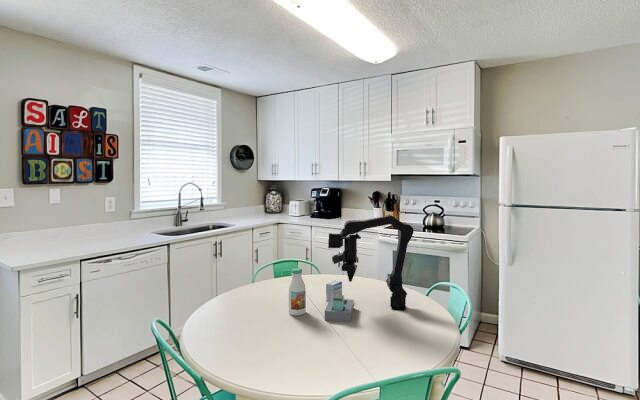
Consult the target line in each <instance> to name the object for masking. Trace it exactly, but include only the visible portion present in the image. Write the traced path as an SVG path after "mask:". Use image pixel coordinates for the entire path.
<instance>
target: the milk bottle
mask: <svg viewBox="0 0 640 400" xmlns="http://www.w3.org/2000/svg"><path fill="white" fill-rule="evenodd" d="M302 275H303V269H302V268H300V267H294V268H291V279H290V281H289V284H288V302H287V303H288V304H287V305H288V306H287V307H288V309H287V310H288V314H289V315H290V316H299V317H300V316H303V315H305V314H306V310H307V309H306V307H307V306H306V298H307V297H306V292H307V291H306V284H305V282H304V279H303V276H302Z"/></svg>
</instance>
